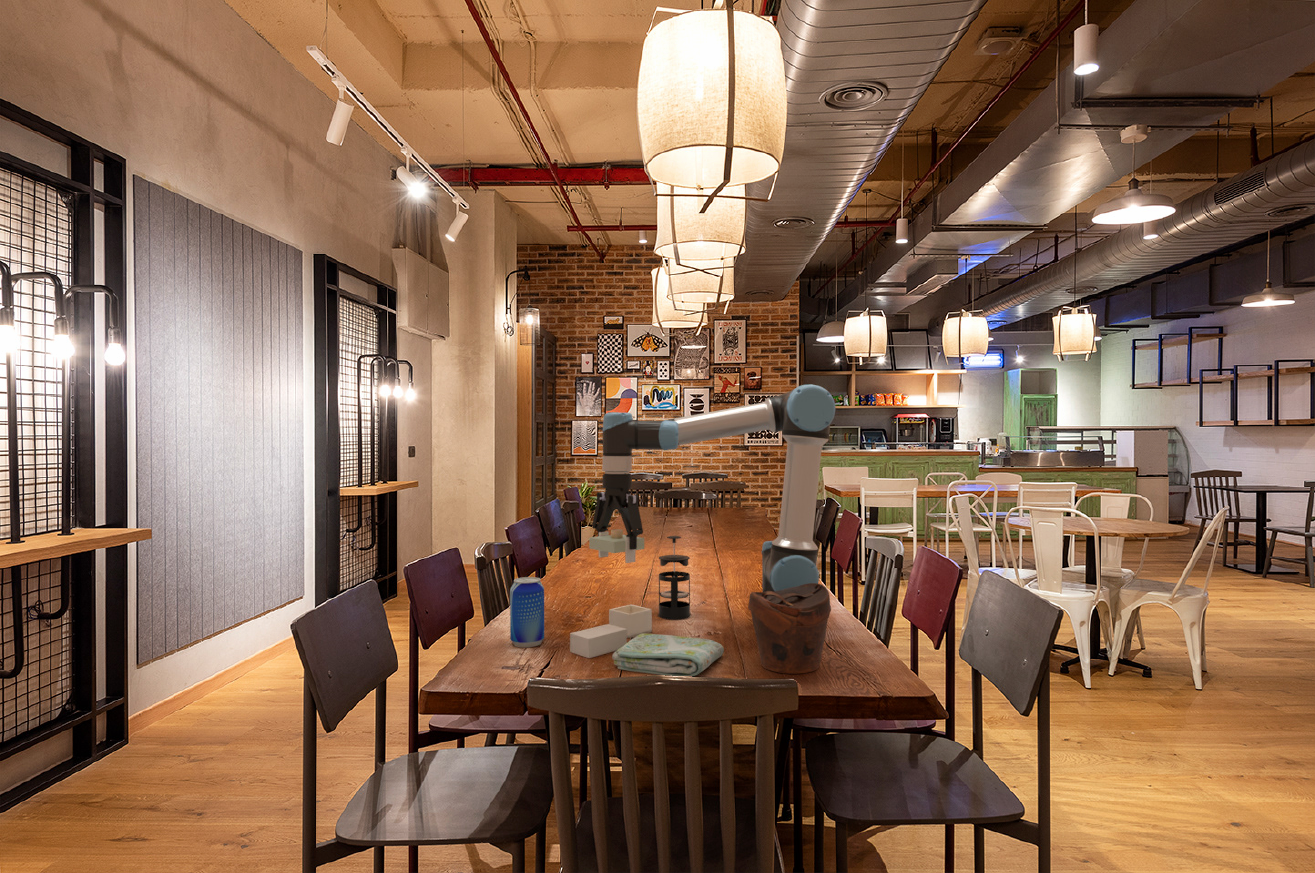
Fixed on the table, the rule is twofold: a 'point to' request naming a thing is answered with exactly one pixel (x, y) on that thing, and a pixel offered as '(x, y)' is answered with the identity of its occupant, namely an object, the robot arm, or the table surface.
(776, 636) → the brown tapered bucket
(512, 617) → the beer can
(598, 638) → the block
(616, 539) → the lid
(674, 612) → the french press
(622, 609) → the open white box
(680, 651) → the towel
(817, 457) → the robot arm
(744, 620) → the table surface
